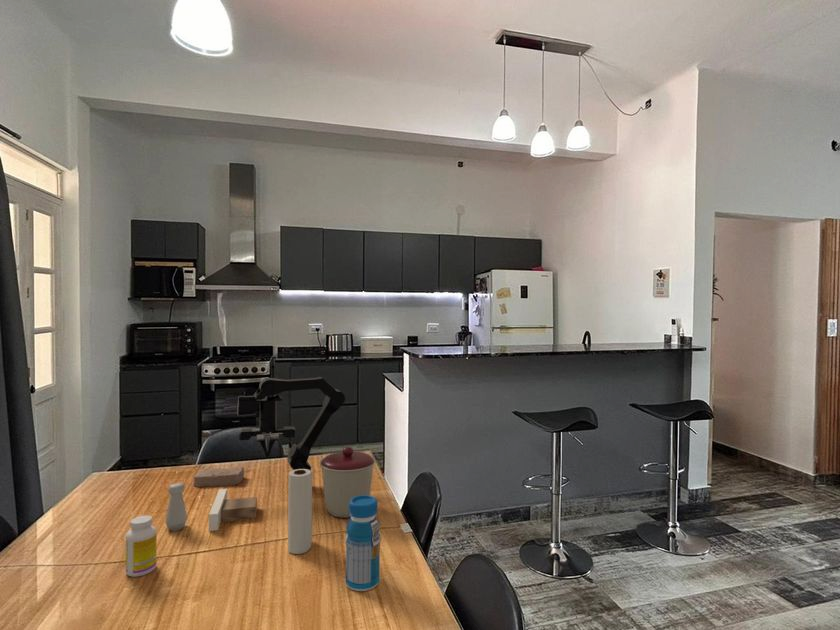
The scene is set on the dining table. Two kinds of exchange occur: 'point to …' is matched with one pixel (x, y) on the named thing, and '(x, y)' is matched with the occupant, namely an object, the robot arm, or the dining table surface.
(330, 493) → the canister
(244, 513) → the walnut block
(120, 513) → the dining table surface
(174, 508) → the salt shaker
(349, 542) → the beverage bottle
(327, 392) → the robot arm
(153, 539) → the supplement bottle
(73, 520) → the dining table surface
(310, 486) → the paper towel roll
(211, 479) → the brick
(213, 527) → the plank
